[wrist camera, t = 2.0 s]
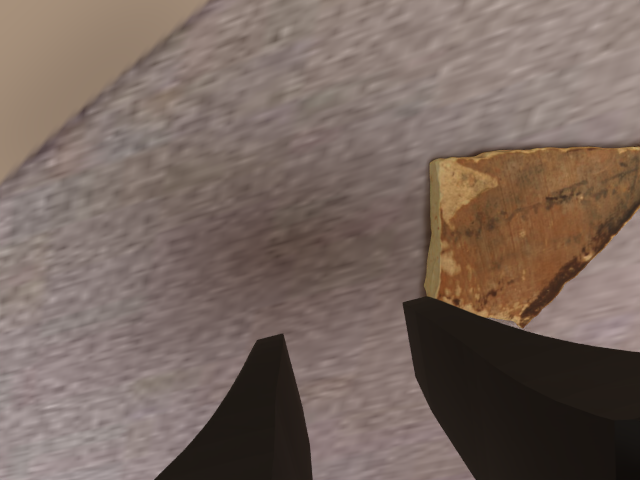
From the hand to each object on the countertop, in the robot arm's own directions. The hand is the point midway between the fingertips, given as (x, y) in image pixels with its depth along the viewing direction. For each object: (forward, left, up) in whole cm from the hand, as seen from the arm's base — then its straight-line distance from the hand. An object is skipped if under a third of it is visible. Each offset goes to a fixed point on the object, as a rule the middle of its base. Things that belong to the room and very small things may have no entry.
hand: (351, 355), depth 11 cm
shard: (0, -9, -9) cm, 13 cm away
